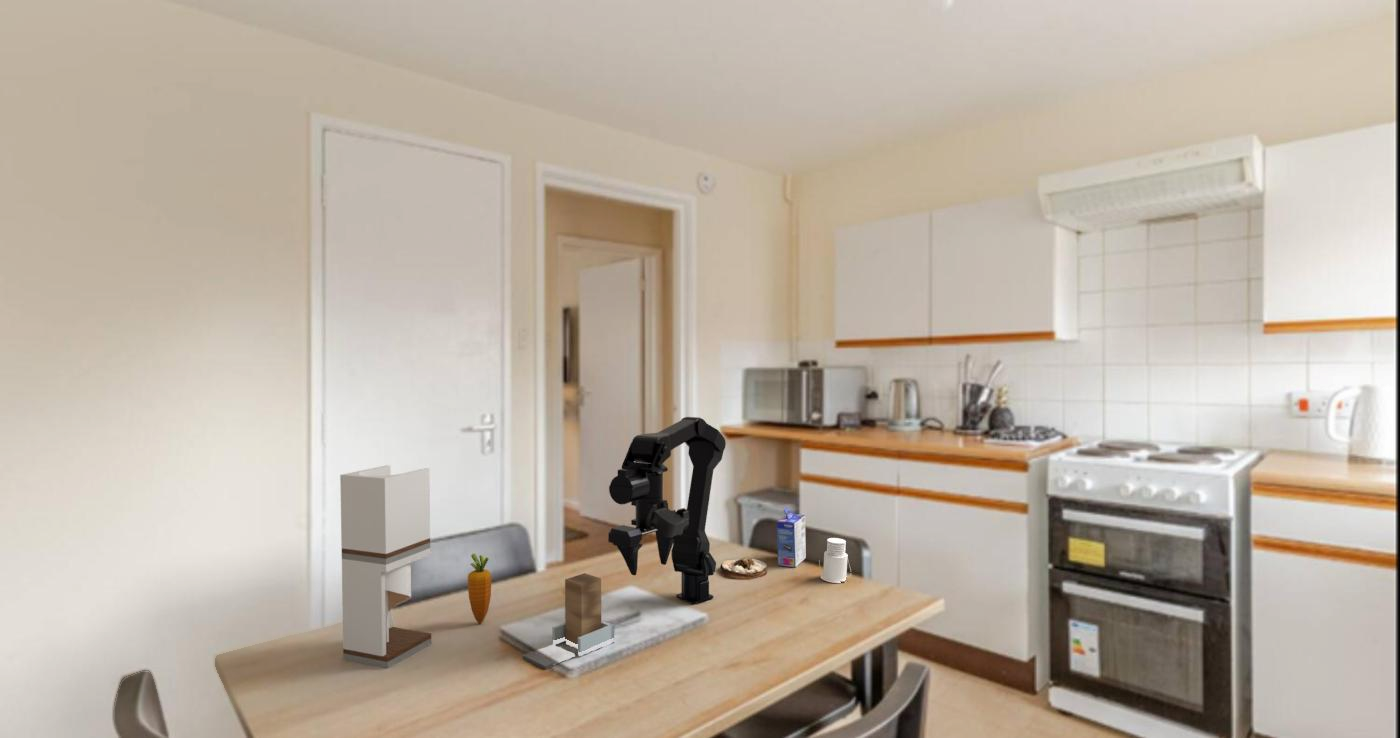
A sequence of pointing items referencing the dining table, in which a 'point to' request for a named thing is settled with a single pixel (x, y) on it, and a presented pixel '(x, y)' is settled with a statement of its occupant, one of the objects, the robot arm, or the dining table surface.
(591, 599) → the walnut block
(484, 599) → the carrot
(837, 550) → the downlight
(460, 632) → the dining table surface
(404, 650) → the tall white cubby shelf
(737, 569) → the cream topped pie
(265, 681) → the dining table surface
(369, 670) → the dining table surface
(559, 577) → the dining table surface
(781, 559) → the ink cartridge box
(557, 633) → the sleeve
